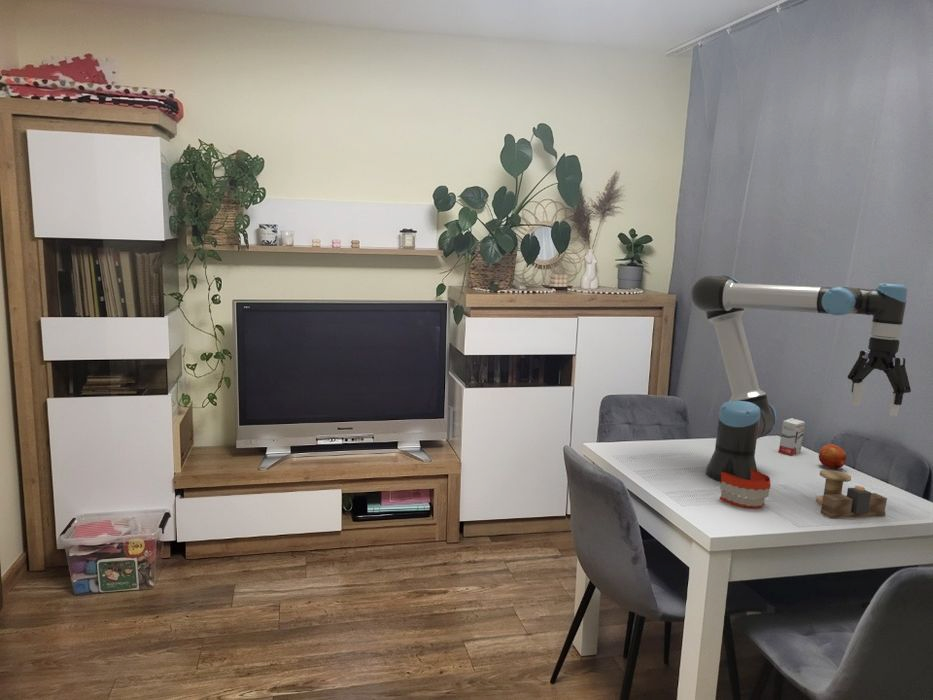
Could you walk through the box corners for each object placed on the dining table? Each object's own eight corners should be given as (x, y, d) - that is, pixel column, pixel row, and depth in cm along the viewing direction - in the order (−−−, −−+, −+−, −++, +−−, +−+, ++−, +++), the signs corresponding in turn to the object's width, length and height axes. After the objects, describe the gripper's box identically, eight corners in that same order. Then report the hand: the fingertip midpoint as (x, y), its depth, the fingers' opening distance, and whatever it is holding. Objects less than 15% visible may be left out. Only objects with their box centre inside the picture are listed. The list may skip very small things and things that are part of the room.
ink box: (792, 456, 253) (796, 423, 251) (778, 452, 256) (782, 420, 254) (801, 452, 259) (805, 420, 257) (787, 449, 262) (791, 417, 260)
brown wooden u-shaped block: (830, 518, 192) (833, 499, 191) (820, 512, 196) (822, 494, 195) (884, 516, 197) (887, 498, 196) (873, 510, 200) (876, 493, 200)
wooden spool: (829, 509, 199) (834, 479, 198) (809, 499, 207) (813, 470, 205) (853, 508, 201) (857, 478, 200) (832, 498, 209) (836, 469, 207)
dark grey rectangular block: (867, 513, 194) (871, 489, 193) (855, 514, 193) (859, 490, 192) (856, 508, 198) (860, 484, 197) (844, 508, 197) (848, 485, 196)
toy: (744, 512, 192) (747, 484, 191) (716, 499, 201) (719, 471, 200) (778, 508, 197) (782, 480, 196) (749, 495, 206) (753, 469, 205)
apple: (831, 464, 246) (834, 441, 245) (850, 471, 238) (854, 448, 237) (812, 464, 244) (815, 442, 242) (831, 472, 236) (834, 449, 234)
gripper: (933, 344, 193) (920, 420, 196) (861, 332, 217) (851, 400, 220) (911, 343, 191) (899, 420, 194) (841, 331, 215) (831, 400, 218)
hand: (873, 409), depth 207 cm, fingers open, 13 cm apart
